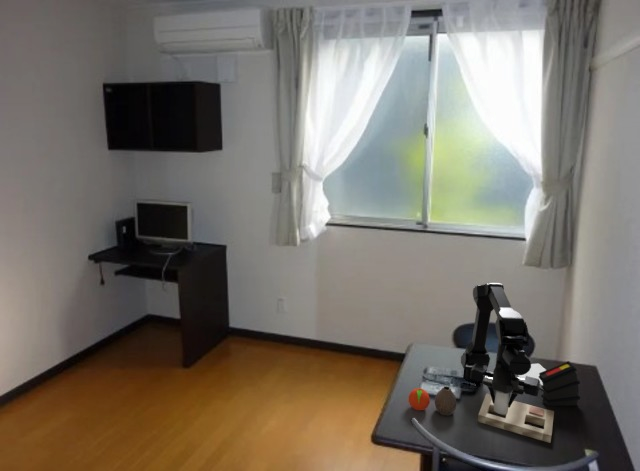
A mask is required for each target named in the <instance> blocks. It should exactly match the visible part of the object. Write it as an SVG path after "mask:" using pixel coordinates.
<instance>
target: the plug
mask: <svg viewBox="0 0 640 471" xmlns="http://www.w3.org/2000/svg"><path fill="white" fill-rule="evenodd" d="M511 394H512V390H510V392H509V393H504V392H500V391H496V392H495V401H494V411H495V412H497V413H496V414H498V413H499V415H501V414H507V413H508V404H509V400H510V397H511Z"/></svg>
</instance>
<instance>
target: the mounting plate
mask: <svg viewBox="0 0 640 471" xmlns="http://www.w3.org/2000/svg"><path fill="white" fill-rule="evenodd" d="M546 370H547V369H546V368H544V367H543V366H542V365H541V364H540V363H531V368H530V370H529V371H528V372H527V373H526V374H524V375H516V376H515V377H517V378H522V379H525V377H526V376H529V377H533V378H537V379H539V381H540V386H539V389H540V390H543V388H542V387H541V386H542V385H543V383H542V381H541V380H540V378H539V376H540V375H539V373H541V372H543V371H546Z"/></svg>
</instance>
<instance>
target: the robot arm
mask: <svg viewBox="0 0 640 471" xmlns="http://www.w3.org/2000/svg"><path fill="white" fill-rule="evenodd" d="M504 288H505V287H504V284H503V283H501V282H488V283H484V284H477V285H475V286H474V288H472V297H473V300H474V303H475V305H476V311H475V312H476V313H475V319H474V325H473V332H472V338H471V341H470V342H469V343H468V344H467V345H466V346H465V350H464V352H463V354H462V355H461V356H460V364H461V367H462V368H463V375H462V379H465V380H466V381H468V382H471V383H475V384H476V386H477V387H476V386H475V387H476V388H481V385H484V386H486V387H487V389H488V391H489V393H490V394H491V398H492V402H493V403H494V401H495V392H496V391H500V392H504V393H509V392H510V390H512V392H511V393H510V398H509V404H508V407H509V408H510V406H511V404H512V402H513V401H515V399H516V398H517V397H518V396H520V395H524V394H526V395H530V396H533V397H538V395H539V391H540V387H539V386H540V381H539V379H537V378H533V377H529V376H526V377H525V379H522V378H517V377H515V376H516V375H524V374H526V373H527V372H528V371H529V370H530V368H531V364H532V363H531V360H530V358H528V356H527V355H526V351H525V350H524V349H523V348H524V347H529V344H530V343H529V341H530V334H529V330H528V324H527V322H526V320H525V318H524V317H523V315H522V314H520V313H519V312H518V311H516V310H515V309H513V307H512V305H511V303H510V300H509V298H508V296H507V295H506V292H505V289H504ZM493 311H494V312H495V316H496V320H495V323H494V324H495V325H494V326H495V332H496V336H497V340H498V341H497V350H496V359H495V367H494V369H493V371H490V370H488V368H489V364H490V360H491V357H490V354H489V351H488V349H487V346H486V344H487V338H488V331H489V326H490V321H491V320H490V319H491V314H492V312H493ZM516 337H517V338H516Z"/></svg>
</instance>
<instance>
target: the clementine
mask: <svg viewBox="0 0 640 471" xmlns="http://www.w3.org/2000/svg"><path fill="white" fill-rule="evenodd" d="M430 401H431V400H430V395H429V393H428V392H427V391H426V390H425V389H423V388H421V387H419V388H413V389H412V390H411V391H410V392H409V395H408V403H409V405H410V406H411V408H412V409H414V410H416V411H424V410H425V409H427V408H428V407H429V405H430Z"/></svg>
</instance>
